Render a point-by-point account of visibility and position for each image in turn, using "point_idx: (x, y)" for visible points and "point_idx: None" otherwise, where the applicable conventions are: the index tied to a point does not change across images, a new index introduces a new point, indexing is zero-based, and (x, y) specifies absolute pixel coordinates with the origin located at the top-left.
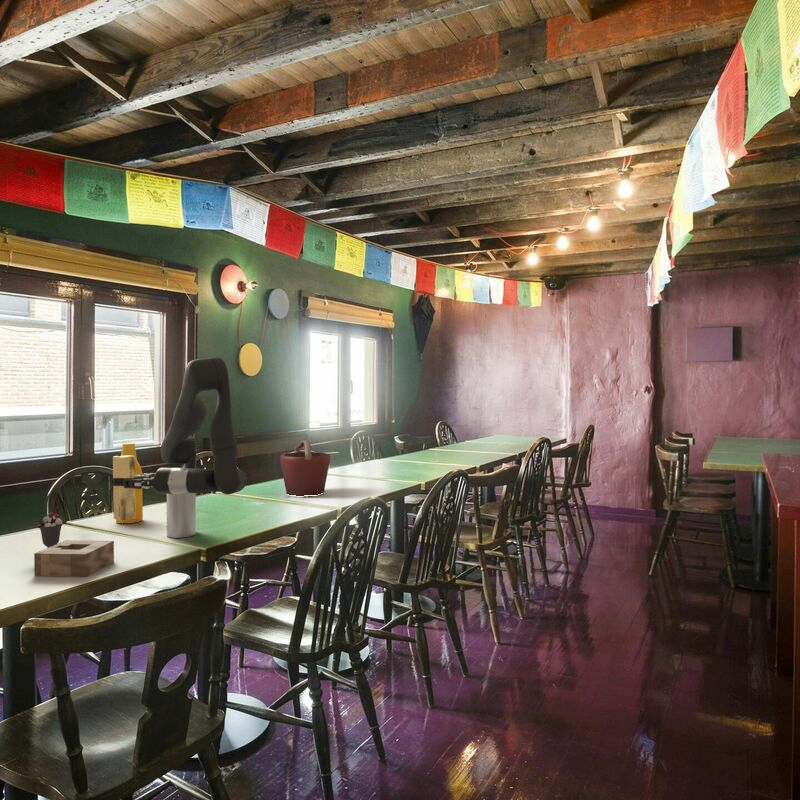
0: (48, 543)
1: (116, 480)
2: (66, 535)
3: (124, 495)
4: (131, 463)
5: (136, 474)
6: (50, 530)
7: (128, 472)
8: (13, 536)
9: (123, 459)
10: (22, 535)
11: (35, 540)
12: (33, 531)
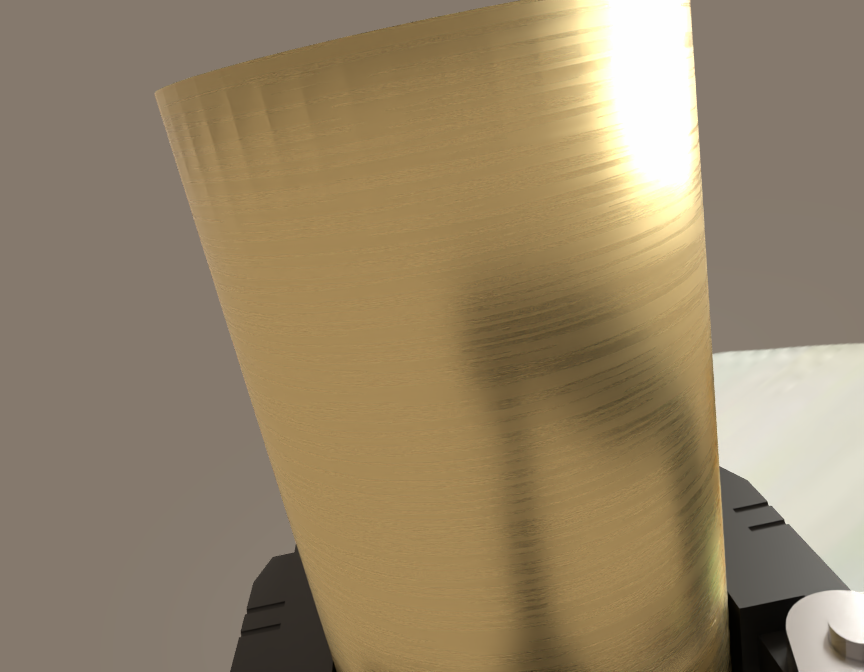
0: None
1: (250, 616)
2: (853, 446)
3: None
4: (352, 349)
5: (852, 608)
6: None
7: (332, 604)
8: (715, 364)
9: (179, 172)
10: (741, 369)
11: (717, 427)
12: (803, 356)
